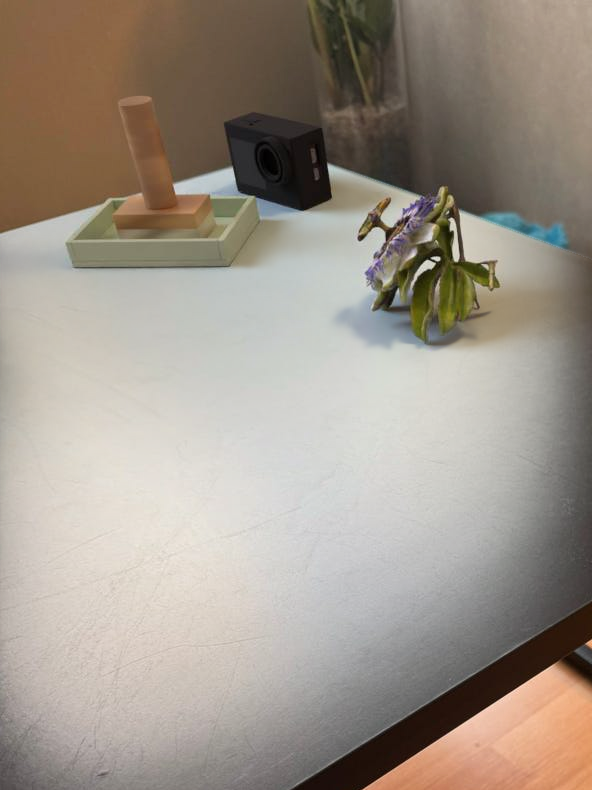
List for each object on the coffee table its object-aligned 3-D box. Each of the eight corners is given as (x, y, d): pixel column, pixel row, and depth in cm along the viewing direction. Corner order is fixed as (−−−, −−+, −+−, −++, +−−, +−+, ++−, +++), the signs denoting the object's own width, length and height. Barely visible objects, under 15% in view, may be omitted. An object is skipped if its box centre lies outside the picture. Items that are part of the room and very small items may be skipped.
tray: (72, 267, 95) (64, 242, 93) (115, 221, 103) (108, 197, 101) (229, 266, 93) (223, 240, 92) (260, 220, 101) (255, 195, 100)
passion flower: (395, 367, 89) (361, 229, 87) (515, 336, 87) (483, 195, 86) (372, 351, 78) (332, 192, 76) (510, 315, 76) (472, 152, 75)
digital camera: (227, 195, 107) (212, 124, 102) (266, 179, 110) (253, 110, 105) (293, 215, 102) (281, 141, 97) (332, 198, 105) (321, 125, 100)
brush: (121, 246, 97) (81, 110, 88) (138, 226, 100) (101, 93, 92) (201, 245, 96) (169, 107, 88) (216, 225, 99) (186, 91, 91)
